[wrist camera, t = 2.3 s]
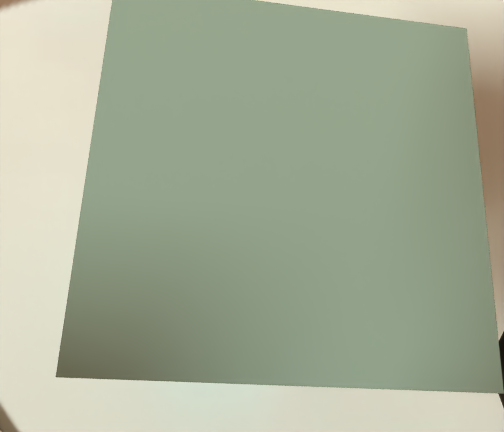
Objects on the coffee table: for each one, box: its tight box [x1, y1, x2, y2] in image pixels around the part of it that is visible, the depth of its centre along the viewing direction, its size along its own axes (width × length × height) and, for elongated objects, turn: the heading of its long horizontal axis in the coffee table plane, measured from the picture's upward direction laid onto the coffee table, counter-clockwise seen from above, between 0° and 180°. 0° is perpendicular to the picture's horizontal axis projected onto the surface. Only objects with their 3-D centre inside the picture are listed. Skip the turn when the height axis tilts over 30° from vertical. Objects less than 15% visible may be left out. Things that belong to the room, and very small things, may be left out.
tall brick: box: [56, 0, 504, 393], centre depth 11 cm, size 5×5×12 cm
